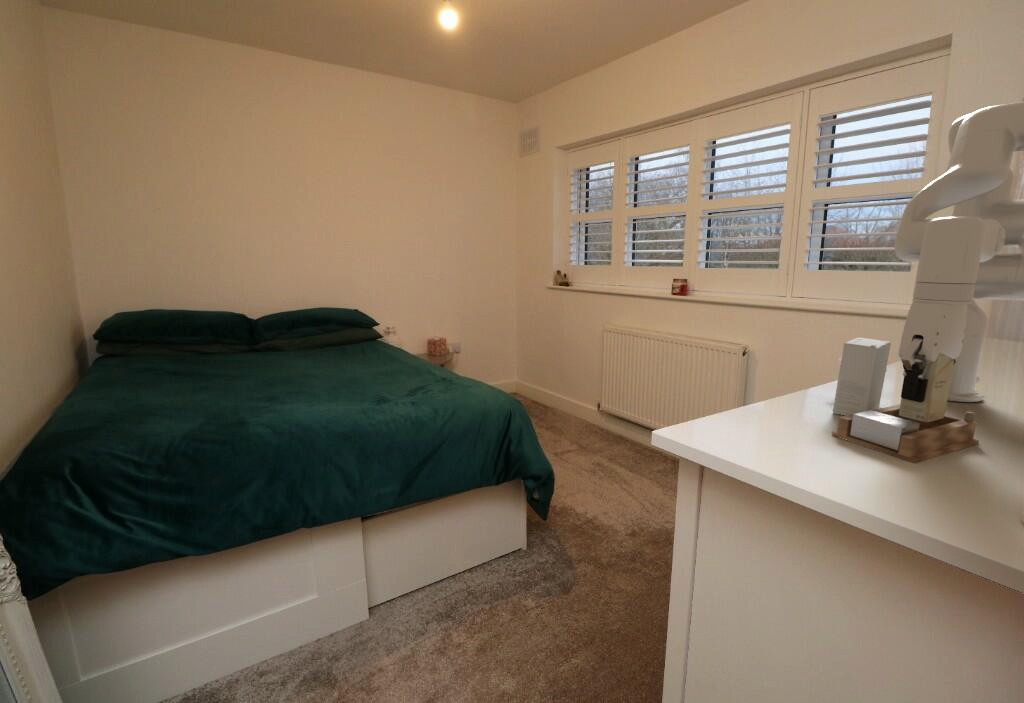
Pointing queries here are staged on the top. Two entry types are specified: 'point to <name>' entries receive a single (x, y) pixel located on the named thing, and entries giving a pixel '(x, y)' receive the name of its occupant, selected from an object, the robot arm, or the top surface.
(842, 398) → the skincare box
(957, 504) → the top surface
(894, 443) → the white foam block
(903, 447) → the holder
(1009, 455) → the top surface
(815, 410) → the top surface
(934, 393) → the skincare box
